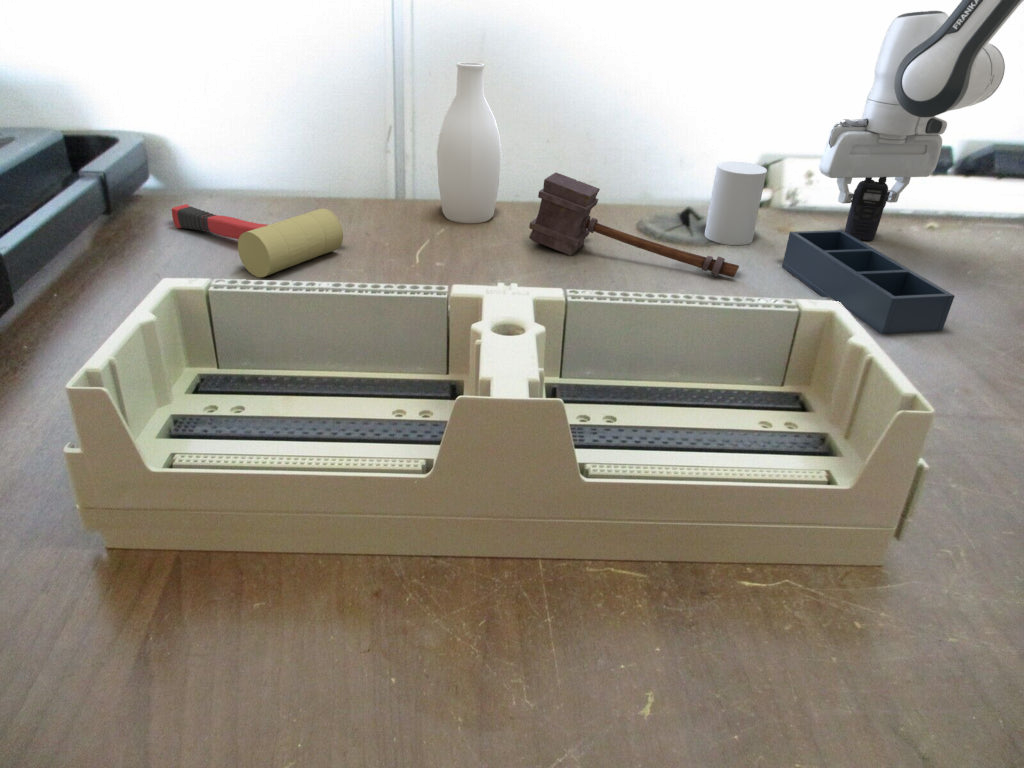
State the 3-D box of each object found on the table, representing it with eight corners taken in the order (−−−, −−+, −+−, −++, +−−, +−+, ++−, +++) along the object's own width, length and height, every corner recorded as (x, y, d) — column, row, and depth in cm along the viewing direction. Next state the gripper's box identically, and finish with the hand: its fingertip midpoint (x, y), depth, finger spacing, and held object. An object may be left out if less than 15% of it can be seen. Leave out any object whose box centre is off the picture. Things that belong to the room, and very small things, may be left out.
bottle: (464, 230, 130) (465, 70, 117) (424, 213, 137) (422, 61, 124) (512, 218, 137) (518, 66, 124) (472, 203, 144) (474, 57, 131)
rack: (833, 264, 123) (842, 230, 120) (940, 335, 101) (955, 295, 99) (781, 266, 121) (789, 231, 118) (879, 339, 100) (892, 298, 97)
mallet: (144, 246, 122) (273, 281, 107) (134, 205, 119) (266, 236, 104) (218, 224, 132) (345, 253, 118) (211, 186, 129) (340, 211, 115)
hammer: (540, 226, 129) (555, 169, 123) (725, 299, 121) (749, 242, 116) (524, 238, 123) (539, 179, 118) (717, 315, 116) (742, 256, 110)
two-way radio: (843, 239, 134) (866, 152, 127) (840, 231, 138) (862, 146, 131) (876, 243, 133) (902, 155, 126) (872, 235, 137) (897, 150, 130)
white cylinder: (762, 242, 131) (777, 172, 125) (722, 247, 128) (736, 175, 122) (733, 227, 137) (746, 160, 131) (695, 231, 135) (707, 162, 129)
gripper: (845, 123, 121) (823, 208, 128) (956, 123, 125) (929, 206, 132) (823, 115, 126) (803, 197, 133) (931, 115, 130) (906, 195, 137)
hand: (867, 202), depth 133 cm, fingers open, 8 cm apart
